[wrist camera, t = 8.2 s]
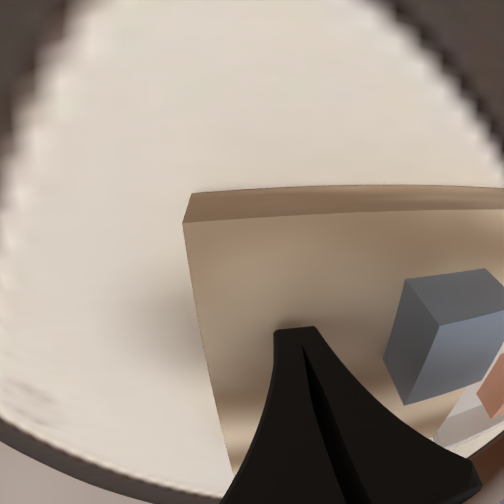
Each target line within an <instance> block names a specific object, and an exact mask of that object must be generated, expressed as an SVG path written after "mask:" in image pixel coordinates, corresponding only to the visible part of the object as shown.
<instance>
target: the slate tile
mask: <svg viewBox="0 0 504 504" xmlns="http://www.w3.org/2000/svg"><path fill="white" fill-rule="evenodd" d="M503 342H504V286H503V285H502V284H501V283H500V282H499V281H498V280H497V279H496V278H495V277H494V276H493V275H492V274H491V273H490V272H489V271H487V270H486V269H485V268H483V269H476V270H469V271H462V272H455V273H448V274H440V275H433V276H425V277H417V278H409V279H405V281H404V286H403V290H402V294H401V298H400V302H399V305H398V309H397V313H396V316H395V320H394V324H393V327H392V330H391V334H390V337H389V341H388V344H387V347H386V350H385V353H384V356H383V361H384V363H385V366H386V368H387V370H388V372H389V374H390V376H391V379H392V381H393V383H394V385H395V387H396V390H397V392H398V394H399V396H400V398H401V401H402V403H403V405H404V406H405V405H409V404H413V403H416V402H420V401H423V400H426V399H430V398H433V397H436V396H439V395H442V394H446V393H449V392H452V391H454V390H457V389H460V388H463V387H466V386H469V385H471V384H474V383H477V382H479V381H482V379H483V378H484V376H485V374H486V373H487V371H488V369H489V368H490V366H491V364H492V362H493V361H494V359H495V357H496V355H497V353H498V352H499V350H500V348H501V346H502V344H503Z"/></svg>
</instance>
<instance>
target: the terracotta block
mask: <svg viewBox="0 0 504 504" xmlns="http://www.w3.org/2000/svg"><path fill="white" fill-rule="evenodd" d="M476 394H477V396H478V397H479V399H480V401H481V403H482V404H483V406H484V408H485V410H486V411H487V413H488V415H489V417H490V419H493V418H495V417H497V416H499V415H501V414H503V413H504V353H502V354H500V356H499V358H498V359H497V361H496V363H495V365H494V366H493V368H492V370H491V371H490V373H489V374H488V376H487V378H486V379H485V381H484V382H483V384H482V386H481V387H480V389H479V390H478V392H477V393H476Z"/></svg>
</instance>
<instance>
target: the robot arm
mask: <svg viewBox="0 0 504 504" xmlns="http://www.w3.org/2000/svg"><path fill="white" fill-rule="evenodd" d="M482 486H483V485H482V482H481V480H480V477H479V475H478V472H477V470H476V469H475V467H474V465H473V463H472V462H471V461H470V460H468V459H466V458H464V457H462V456H459V455H457V454H455V453H453V452H451V451H449V450H447V449H445V448H443V447H441V446H440V445H438V444H436V443H435V442H433V441H431V440H430V439H428V438H426V437H425V436H423V435H422V434H420V433H419V432H417V431H416V430H415V429H413V428H412V427H410V426H409V425H407V424H406V423H404V422H403V421H402V420H401V419H399V418H398V417H397V416H396V415H394V414H393V413H392V412H391V411H389V410H388V409H387V408H386V407H385V406H384V405H383V404H381V403H380V402H379V401H378V400H377V399H376V398H375V397H374V396H373V395H372V394H371V393H370V392H369V391H368V390H367V389H366V388H365V387H364V386H363V385H362V384H361V383H360V382H359V381H358V380H357V379H356V378H355V377H354V375H353V374H352V373H351V372H350V371H349V370H348V369H347V367H346V366H345V365H344V364H343V363H342V361H341V360H340V359H339V358H338V357H337V355H336V354H335V353H334V351H333V350H332V349H331V348H330V346H329V345H328V343H327V342H326V341H325V339H324V338H323V337H322V335H321V334H320V332H319V331H318V329H317V328H316V327H315V326H307V327H298V328H288V329H278V330H276V331H275V332H273V370H272V376H271V382H270V386H269V390H268V394H267V398H266V402H265V406H264V409H263V412H262V415H261V418H260V421H259V424H258V427H257V430H256V432H255V435H254V437H253V440H252V442H251V444H250V447H249V449H248V452H247V454H246V456H245V458H244V460H243V462H242V464H241V466H240V468H239V470H238V472H237V474H236V476H235V478H234V480H233V481H232V483H231V485H230V487H229V489H228V490H227V492H226V494H225V495H224V497H223V498H222V500H221V501H220V503H219V504H462V503H464V502H465V501H466V500H468V499H469V498H471V497H472V496H473V495H475V494H476V493H477V492H479V491H480V490H481V488H482ZM497 504H504V499H503V500H502V501H500V502H499V503H497Z"/></svg>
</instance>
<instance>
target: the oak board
mask: <svg viewBox="0 0 504 504" xmlns="http://www.w3.org/2000/svg"><path fill="white" fill-rule="evenodd" d="M182 224H183V231H184V238H185V245H186V251H187V258H188V264H189V270H190V276H191V282H192V288H193V294H194V299H195V305H196V310H197V316H198V321H199V326H200V332H201V337H202V342H203V347H204V352H205V357H206V362H207V366H208V371H209V376H210V380H211V385H212V389H213V394H214V398H215V403H216V407H217V411H218V416H219V420H220V424H221V428H222V432H223V436H224V440H225V444H226V448H227V452H228V456H229V460H230V464H231V467H232V471H233V475H236V474H237V472H238V470H239V468H240V466H241V464H242V462H243V460H244V458H245V456H246V454H247V452H248V449H249V447H250V444H251V442H252V440H253V437H254V435H255V432H256V430H257V427H258V424H259V421H260V418H261V415H262V412H263V409H264V406H265V402H266V398H267V394H268V390H269V386H270V382H271V376H272V370H273V332H275V331H276V330H278V329H288V328H298V327H307V326H315V327H316V328H317V329H318V331H319V332H320V334H321V335H322V337H323V338H324V339H325V341H326V342H327V343H328V345H329V346H330V348H331V349H332V350H333V351H334V353H335V354H336V355H337V357H338V358H339V359H340V360H341V361H342V363H343V364H344V365H345V366H346V367H347V369H348V370H349V371H350V372H351V373H352V374H353V375H354V377H355V378H356V379H357V380H358V381H359V382H360V383H361V384H362V385H363V386H364V387H365V388H366V389H367V390H368V391H369V392H370V393H371V394H372V395H373V396H374V397H375V398H376V399H377V400H378V401H379V402H380V403H381V404H383V405H384V406H385V407H386V408H387V409H388V410H389V411H391V412H392V413H393V414H394V415H396V416H397V417H398V418H399V419H401V420H402V421H403V422H404V423H406V424H407V425H409V426H410V427H412V428H413V429H415V430H416V431H417V432H419V433H420V434H422V435H423V436H425V437H426V438H431V437H433V436H434V434H435V433H436V432H437V430H438V429H439V428H440V426H441V425H442V423H443V422H444V421H445V419H446V418H447V416H448V415H449V414H450V412H451V411H452V409H453V408H454V406H455V405H456V403H457V402H458V400H459V399H460V397H461V395H462V394H463V392H464V391H465V389H466V387H467V386H466V387H463V388H460V389H457V390H454V391H452V392H449V393H446V394H442V395H439V396H436V397H433V398H430V399H426V400H423V401H420V402H416V403H413V404H409V405H405V406H404V405H403V403H402V401H401V398H400V396H399V394H398V392H397V390H396V387H395V385H394V383H393V381H392V379H391V376H390V374H389V372H388V370H387V368H386V366H385V363H384V361H383V356H384V353H385V350H386V347H387V344H388V341H389V337H390V334H391V330H392V327H393V324H394V320H395V316H396V313H397V309H398V305H399V302H400V298H401V294H402V290H403V286H404V281H405V279H409V278H417V277H425V276H433V275H440V274H448V273H455V272H462V271H469V270H476V269H483V268H485V269H486V270H487V271H489V272H490V273H491V274H492V275H493V276H494V277H495V278H496V279H497V280H498V281H499V282H500V283H501V284H502V285H503V286H504V189H501V188H484V187H462V186H427V185H347V186H310V187H286V188H266V189H249V190H234V191H220V192H207V193H195V194H191V197H190V200H189V203H188V207H187V210H186V213H185V216H184V219H183V223H182Z"/></svg>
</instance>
